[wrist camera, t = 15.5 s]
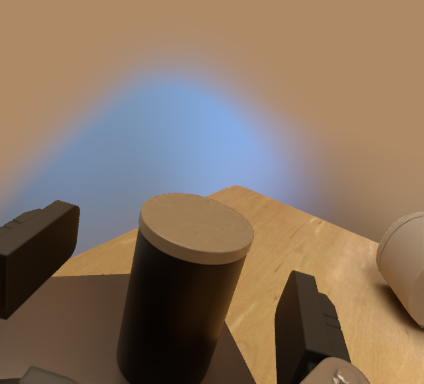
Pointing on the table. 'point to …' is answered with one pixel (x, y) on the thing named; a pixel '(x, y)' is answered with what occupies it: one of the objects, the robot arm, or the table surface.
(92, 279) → the cabinet
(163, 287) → the tin
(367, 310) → the table surface
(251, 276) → the table surface
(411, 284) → the alarm clock
